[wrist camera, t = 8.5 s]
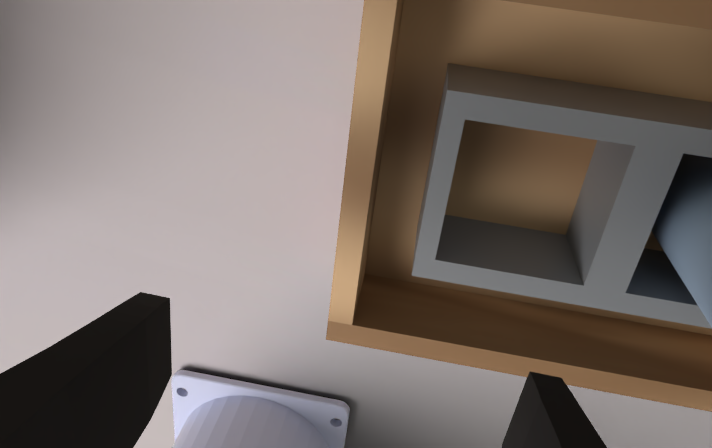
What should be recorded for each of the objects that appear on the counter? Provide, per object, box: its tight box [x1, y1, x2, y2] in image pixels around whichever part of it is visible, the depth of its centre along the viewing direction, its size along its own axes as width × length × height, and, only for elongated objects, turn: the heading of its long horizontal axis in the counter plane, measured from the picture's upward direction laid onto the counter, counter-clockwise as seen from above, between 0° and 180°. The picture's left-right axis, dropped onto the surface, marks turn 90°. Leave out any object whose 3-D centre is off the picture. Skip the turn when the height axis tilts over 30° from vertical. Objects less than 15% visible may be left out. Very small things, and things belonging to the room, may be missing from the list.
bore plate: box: [412, 63, 712, 329], centre depth 17 cm, size 6×11×3 cm, turn 83°
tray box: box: [326, 0, 712, 412], centre depth 17 cm, size 12×16×4 cm
